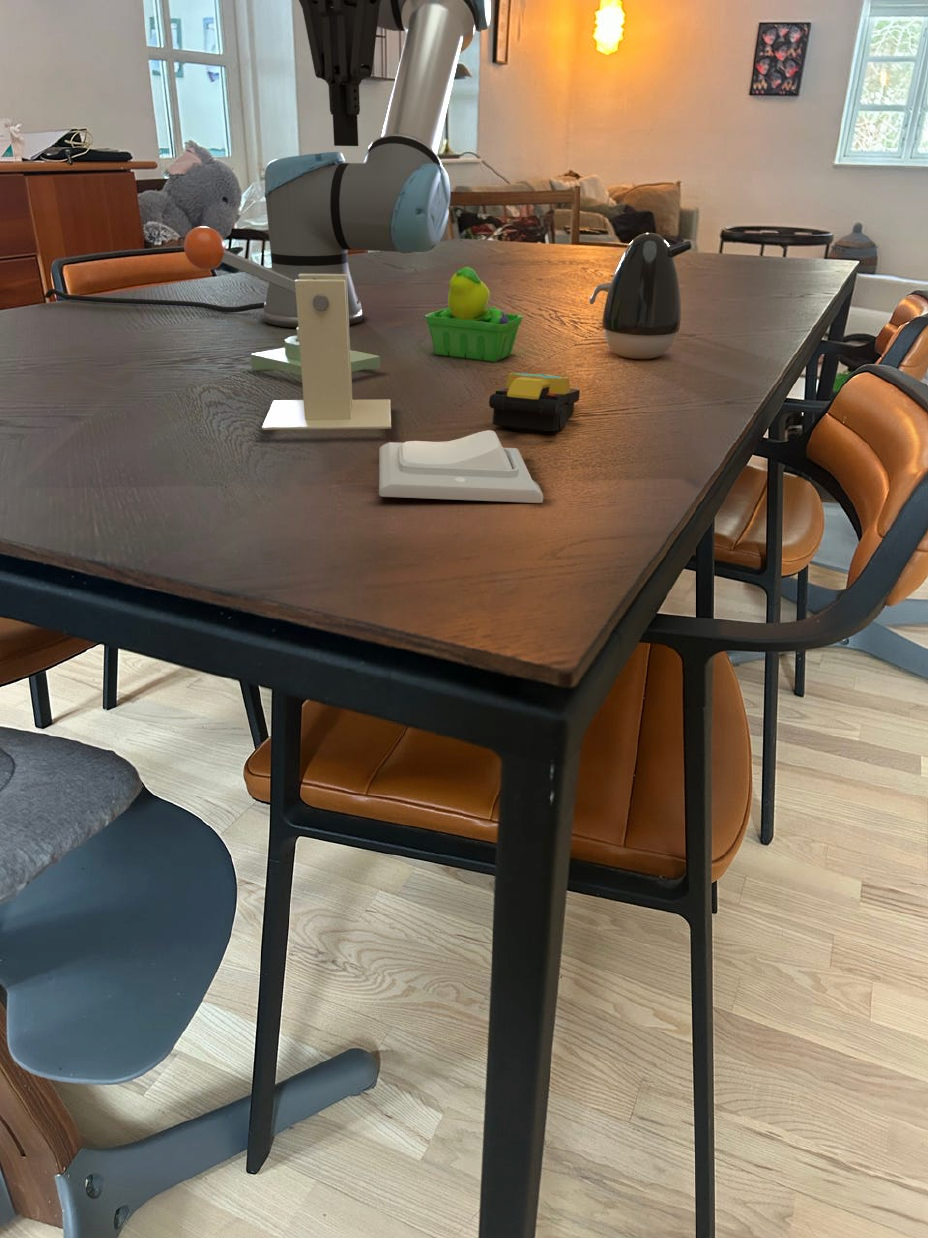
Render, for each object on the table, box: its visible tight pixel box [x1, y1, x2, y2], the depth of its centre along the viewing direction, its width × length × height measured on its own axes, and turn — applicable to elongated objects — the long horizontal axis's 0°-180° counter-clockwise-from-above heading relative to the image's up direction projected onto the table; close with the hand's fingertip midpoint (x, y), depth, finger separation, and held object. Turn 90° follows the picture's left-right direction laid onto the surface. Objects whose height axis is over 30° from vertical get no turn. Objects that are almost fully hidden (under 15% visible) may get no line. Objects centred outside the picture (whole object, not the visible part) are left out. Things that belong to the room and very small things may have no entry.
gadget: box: [488, 372, 581, 434], centre depth 85 cm, size 6×13×6 cm, turn 161°
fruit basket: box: [424, 266, 524, 363], centre depth 114 cm, size 11×9×11 cm
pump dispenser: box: [601, 232, 693, 360], centre depth 115 cm, size 10×10×15 cm
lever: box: [183, 225, 318, 293], centre depth 80 cm, size 14×4×4 cm, turn 95°
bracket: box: [261, 274, 392, 431], centre depth 84 cm, size 12×10×14 cm
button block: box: [250, 335, 381, 377], centre depth 106 cm, size 12×10×4 cm
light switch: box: [378, 429, 544, 504], centre depth 72 cm, size 11×4×13 cm
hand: (346, 145), depth 109 cm, fingers closed
